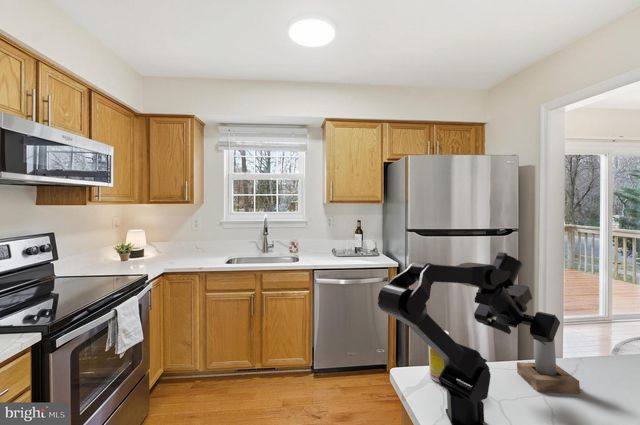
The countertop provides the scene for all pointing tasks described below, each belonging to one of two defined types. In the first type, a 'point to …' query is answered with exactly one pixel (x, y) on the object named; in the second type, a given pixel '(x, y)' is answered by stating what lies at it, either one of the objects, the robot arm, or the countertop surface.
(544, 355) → the plug
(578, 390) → the brown square frame
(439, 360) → the supplement bottle
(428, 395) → the countertop surface
